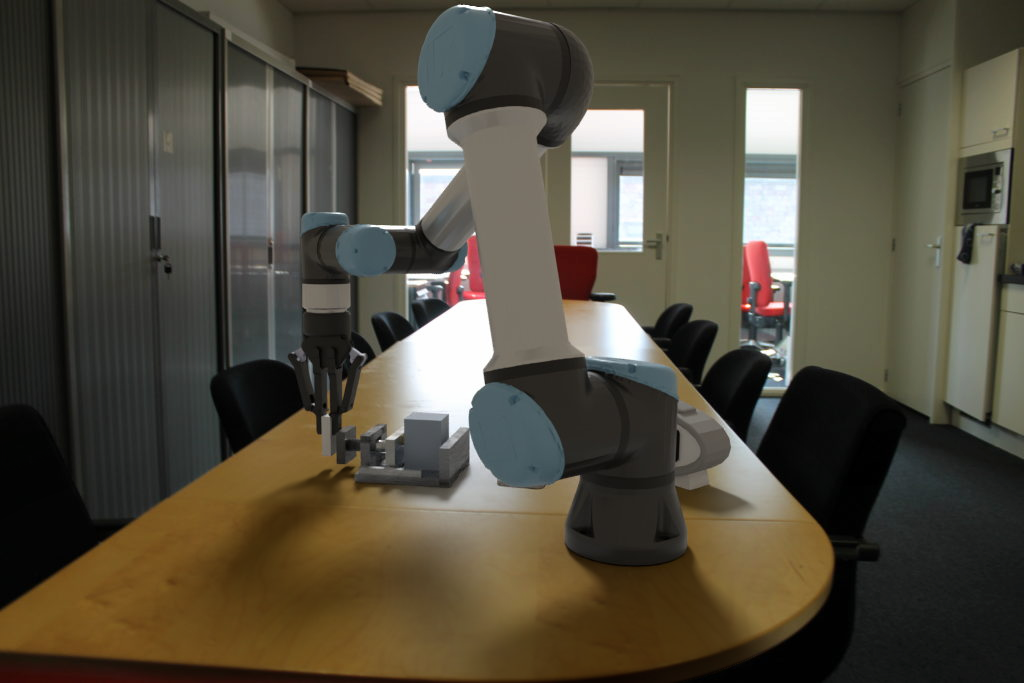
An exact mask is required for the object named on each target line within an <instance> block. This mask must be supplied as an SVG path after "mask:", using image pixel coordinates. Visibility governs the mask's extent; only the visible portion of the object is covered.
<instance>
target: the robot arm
mask: <svg viewBox="0 0 1024 683" xmlns="http://www.w3.org/2000/svg"><path fill="white" fill-rule="evenodd" d="M417 65H418V66H417V86H418V91H419V95H420V98H421V100H422V102H423V103H425V104H426V106H427V107H428V108H429V109H430V110H433V111H434V112H436V113H443V117H444V123H445V129H446V130H445V131H446V135H447V138H448V139H449V140H450V141H451V142H453V143H454V144H456V145H457V147H459V148H461V149H462V154H463V162H464V164H463V166H461V168H460V169H459V170H458V172H457V173H456V174H455V176H454V177H453V178H452V180H450V182H449V183H448V185H447V186H446V187H445V189H444V190H443V191H442V192H441V193H440V195H439V196H438V197H437V199H436V200H435V201H434V203H433V204H432V205H431V206H430V208H429V209H428V210H427V211H426V213H425V214H424V216H422V217H421V219H420V220H419V221H418V223H417V224H415V225H389V224H388V225H384V224H383V225H381V224H379V225H378V224H369V223H367V224H363V223H357V224H350V219H349V216H348V215H347V214H346V213H343V212H325V211H324V212H323V211H322V212H321V211H320V212H319V211H318V212H314V211H313V212H311V211H310V212H305V213H304V214H303V215H302V217H301V221H300V234H299V240H300V254H301V256H300V257H301V282H302V284H301V286H302V288H301V289H302V291H301V292H302V294H301V295H302V296H301V298H302V299H301V303H302V305H301V306H302V308H304V309H305V311H304V312H303V313H302V334H303V340H302V341H301V344H300V347H298V349H296V350H295V351H293V352H290V353H288V354H287V359H288V360H289V362H290V363H291V365H292V367H293V370H294V373H295V377H296V380H297V381H296V382H297V385H298V389H299V393H300V396H301V400H302V404H303V408H304V410H305V411H306V412H311V413H313V415H315V424H316V428H315V429H316V434H317V435H321V456H322V457H332V456H334V455H335V454H336V432H337V431H339V430H340V429H342V428H343V424H342V423H343V422H342V420H343V418H342V416H343V414H346V413H348V412H349V411H352V410H353V408H354V404H355V400H356V395H357V390H358V385H359V383H360V382H359V381H360V377H361V373H362V368H363V366H364V365H365V364H366V361H367V360H368V358H369V355H368V354H367V353H365V352H363V353H362V352H360V351H359V350H358V349H357V348H355V344H354V341H353V340H352V322H351V321H352V314H351V312H350V311H348V309H349V308H350V307H351V276H356V277H359V278H364V277H368V278H372V277H373V278H374V277H377V276H383V275H384V276H387V275H388V276H389V275H390V276H391V275H416V274H417V275H422V274H424V275H425V274H426V275H429V274H431V275H442V274H443V275H444V274H445V273H446V274H447V273H454V272H458V271H459V270H460V269H461V268H463V267H464V264H465V263H466V258H467V257H468V254H469V244H468V240H470V238H471V237H472V236H473V235H474V234H475V240H476V245H477V246H476V247H477V252H478V257H479V266H480V271H481V277H482V285H483V290H484V299H485V304H486V310H487V319H488V325H489V330H490V337H491V345H492V352H493V353H492V357H491V358H490V359H489V360H488V362H487V364H486V365H485V366H484V368H483V369H482V373H483V380H484V381H483V382H484V386H482V387H481V388H480V389H479V390H477V391H476V392H475V393H474V395H473V397H472V399H471V402H470V404H471V406H472V407H470V408H469V410H468V428H469V430H470V438H471V441H472V445H473V448H474V449H475V452H476V454H477V456H478V458H479V460H480V461H481V463H482V464H483V465H484V467H485V468H486V469H487V470H489V471H490V473H491V474H492V476H494V478H496V480H497V479H498V480H500V481H501V482H503V483H505V484H507V485H510V486H509V487H514V488H527V487H529V486H535V485H544V486H550V485H553V484H555V483H556V482H557V481H562V480H567V479H570V478H573V477H579V482H578V484H577V487H576V489H575V493H574V495H573V499H572V501H571V505H570V507H569V510H568V513H567V515H566V518H565V522H564V543H565V545H566V546H567V548H568V549H570V550H571V552H574V553H575V554H577V555H579V556H582V557H583V558H586V559H590V560H593V561H595V562H600V563H606V564H613V565H623V566H649V565H657V564H662V563H663V564H664V563H666V562H670V561H673V560H675V559H678V558H680V557H681V556H682V555H684V554H685V552H686V551H687V549H688V527H687V523H686V520H685V517H684V513H683V510H682V507H681V506H682V505H681V502H680V499H679V496H678V491H677V489H676V486H675V460H676V437H677V414H678V402H679V400H680V396H679V390H678V389H679V386H678V376H677V373H676V372H675V370H674V369H673V368H672V367H670V366H668V365H666V364H662V363H656V362H650V361H649V362H648V361H643V360H635V359H628V358H621V357H619V358H617V357H607V356H596V355H595V356H593V355H592V356H591V355H590V356H589V355H588V356H586V355H585V353H584V352H582V351H581V350H580V349H578V348H577V347H575V346H574V345H573V344H572V343H571V342H570V341H569V335H568V328H567V320H566V316H565V310H564V302H563V297H562V290H561V284H560V277H559V272H558V264H557V260H556V259H557V258H556V253H555V246H554V240H553V234H552V228H551V222H550V215H549V209H548V208H549V207H548V202H547V196H546V190H545V183H544V178H543V177H544V176H543V170H542V164H541V158H542V157H543V155H544V154H546V152H547V151H548V150H554V149H558V148H560V147H561V146H563V144H564V143H565V142H566V141H567V140H568V139H569V137H571V135H573V133H574V132H575V130H576V129H577V128H578V127H579V126H580V124H581V123H582V121H583V119H584V117H585V116H586V114H587V112H588V109H589V106H590V104H591V102H592V98H593V93H594V90H595V89H594V86H595V71H594V67H593V62H592V58H591V57H590V53H589V51H588V49H587V47H586V46H585V45H584V43H583V42H582V40H580V38H579V37H578V36H577V35H576V34H575V33H574V32H573V31H571V30H570V29H568V28H566V27H564V26H562V25H560V24H557V23H554V22H549V21H542V20H539V19H538V20H537V19H532V18H528V17H524V16H518V15H514V14H509V13H504V12H500V11H495V10H492V8H490V7H488V6H481V7H477V6H470V5H465V4H463V5H461V4H458V5H454V6H452V7H450V8H448V9H446V10H444V11H443V12H442V13H441V14H439V16H437V18H436V20H435V21H434V22H433V23H432V25H431V26H430V28H429V30H428V32H427V34H426V36H425V39H424V42H423V44H422V46H421V50H420V53H419V58H418V64H417ZM349 356H350V359H349V362H350V363H351V364H350V366H349V370H348V374H347V378H346V382H345V387H344V391H343V370H344V364H345V362H346V361H347V359H348V358H349ZM307 359H308V360H309V362H310V364H312V374H313V381H314V383H312V379H311V375H310V372H309V368H308V364H307V362H306V361H307ZM328 380H329V387H328ZM313 384H314V385H313ZM313 386H314V387H313ZM328 388H329V408H328Z"/></svg>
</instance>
